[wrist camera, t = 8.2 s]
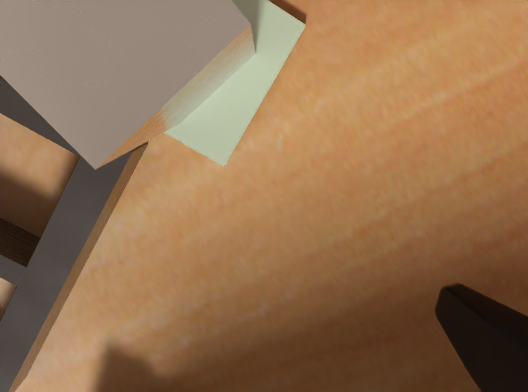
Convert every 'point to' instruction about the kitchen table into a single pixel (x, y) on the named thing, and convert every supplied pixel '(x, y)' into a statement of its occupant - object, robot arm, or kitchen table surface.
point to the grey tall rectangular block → (119, 65)
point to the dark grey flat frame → (51, 245)
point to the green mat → (241, 84)
